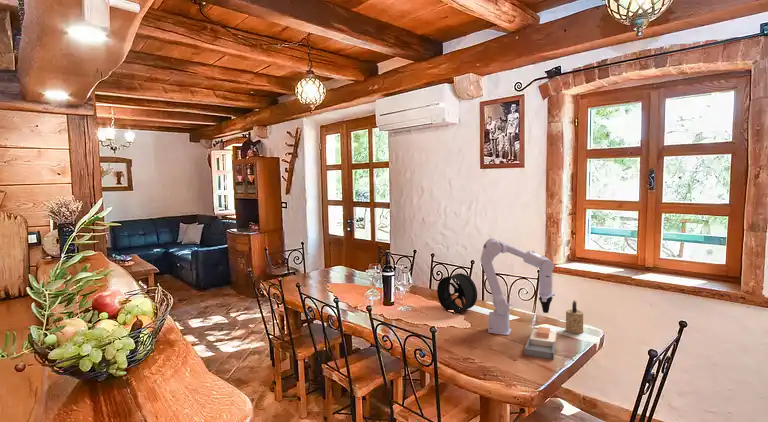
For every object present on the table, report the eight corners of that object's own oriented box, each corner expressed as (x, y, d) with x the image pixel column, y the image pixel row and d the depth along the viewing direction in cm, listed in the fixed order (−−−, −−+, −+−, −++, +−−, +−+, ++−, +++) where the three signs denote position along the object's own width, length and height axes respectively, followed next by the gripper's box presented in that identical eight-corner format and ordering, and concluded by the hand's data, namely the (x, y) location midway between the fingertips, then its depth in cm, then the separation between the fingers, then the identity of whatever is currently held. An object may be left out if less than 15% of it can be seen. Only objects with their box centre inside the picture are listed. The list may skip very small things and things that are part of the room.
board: (529, 344, 179) (529, 338, 179) (533, 334, 190) (533, 329, 189) (554, 347, 175) (554, 342, 174) (556, 337, 185) (556, 332, 185)
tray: (524, 355, 169) (524, 348, 168) (528, 343, 179) (528, 337, 179) (553, 359, 164) (553, 353, 163) (555, 347, 174) (555, 341, 174)
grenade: (585, 334, 187) (585, 302, 186) (568, 333, 189) (568, 302, 188) (580, 328, 195) (580, 297, 193) (564, 327, 196) (564, 297, 195)
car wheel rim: (477, 312, 221) (477, 276, 219) (465, 317, 215) (464, 280, 213) (449, 304, 236) (448, 270, 235) (437, 308, 230) (436, 273, 228)
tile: (536, 336, 181) (536, 332, 181) (538, 330, 187) (538, 326, 187) (548, 338, 179) (548, 333, 178) (550, 332, 185) (550, 328, 185)
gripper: (553, 288, 182) (553, 318, 183) (556, 280, 194) (556, 308, 196) (536, 287, 185) (537, 316, 186) (540, 279, 198) (540, 306, 199)
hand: (545, 312), depth 191 cm, fingers closed
